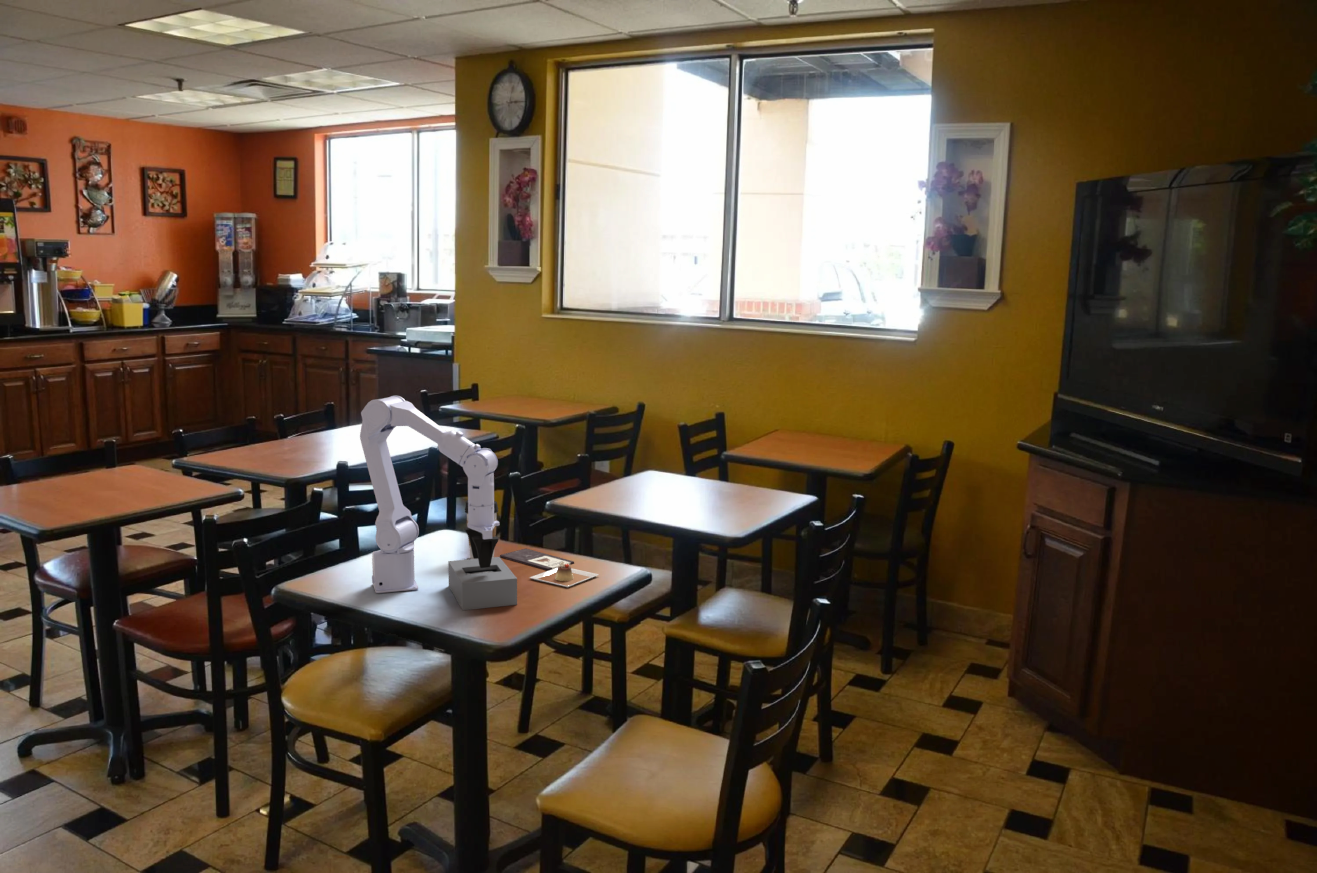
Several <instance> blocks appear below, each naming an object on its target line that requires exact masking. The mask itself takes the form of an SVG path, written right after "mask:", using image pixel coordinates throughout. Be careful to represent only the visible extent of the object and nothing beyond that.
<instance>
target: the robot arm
mask: <svg viewBox="0 0 1317 873" xmlns="http://www.w3.org/2000/svg"><path fill="white" fill-rule="evenodd" d="M360 415H361V419H362V421H361V429H360V432H359V440H360V444H361V447H362V450H363V454H364V458H365V462H366V467H367V470H368V474H369V476H370V481H371V486H372V489H373V494H374V495H375V501H376V503H377V507H378V511H379V512H378V515H377V516H376V520H375V523H374V525H375V528H376V532H375V542H376V545H377V546H378V548H379V549H380V550H375V551H373V552H372V553H371V554H372V555H371V557H372V558H371V561H372V562H371V564H372V565H371V566H372V575H371V583H372V586H373V589H374V591H375V592H374V593H376V594H382V593H393V592H404V591H405V592H406V591H413V590H414V591H415V590H419V585H418V584H417V581H416V579H415V542H416V540H417V539H418V536H419V534H420V529H419V525H418V523H417V522H416V521H415V520H414V518H413V516H412V512H411V510H410V509H408V508H407V506H405V505H404V504H403V500H402V499H403V498H402V496H401V491H400V488H399V484H398V480H397V476H396V473H395V469H394V468H395V467H394V465H393V462H392V458H391V453H390V449H389V445H388V442H387V439H388V437H389V436H390V434H391V433H392V432H393V430H394V429H395V428H396V427H409V428H411V429H413V430H414V431H416V432H417V433H419V434H421V435H422V436H424V437H426V438H428V439H429V440H431V441H432V442H433V443H436V444H437V447H438V451H439V452H440V453H441V454H443V455H444V456H446V457H447V458H449V459H450V460H452V461H453V462H455V463H456V464H457V465H459V466H460V467H462V469H463V472H464V473H465V475H466V477H467V500H468V523H467V522H466V527H465V528H464V530H465V532H466V535H467V538H468V537H469V539H468V542H469V541H470V545H471V550H472V554H473V558H474V559H478V561H479V565H480V568H487V567H490V564H491V560H492V555H493V551H494V552H495V548H496V545H497V544H498V542H499V541H500V540H499V537H498V536H495V537H492V530H493V529H494V527H495V526H496V527H499V526H500V521H499V520H497V521H494V501H495V479H494V478H495V476H494V475H495V474H494V473H495V470H496V469H497V468H498V466H499V460H498V456H497V455H496V453H495V452H493V451H492V449H491V448H487V447H483V448H481V445H480V444H479V443H476V444H475V443H474V442H472V441H471V440H470V439H468V438H467V437H465V436H464V434H465V433H464V432H462V431H461V430H458V431H456V430H450V431H449V430H448V431H446V430H445V429H444V428H443V427H441V426H440V425H439V424H437V423H436V422H435V421H433V420H432V419H431V418H429V417H428V416H426V415H425V414H424V413H423V412H421V411H420V410H419V409H418V408H416V407H415V405H414V404H413V403H412V402H410V401H408V400H405V398H403V397H402V396H400V395H391V396H389V397H384V398H378V399H372V400H370V401H368V402H367V404H366V405H365V406H364V408H363V409H362V410H361V411H360ZM467 526H468V527H467Z"/></svg>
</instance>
